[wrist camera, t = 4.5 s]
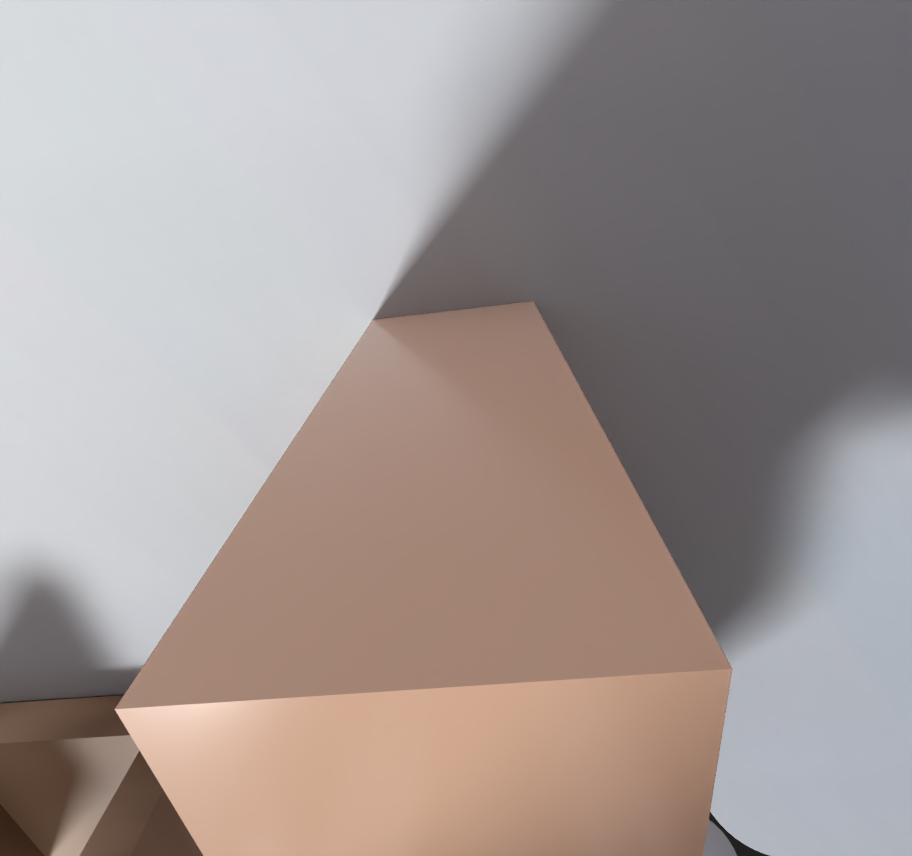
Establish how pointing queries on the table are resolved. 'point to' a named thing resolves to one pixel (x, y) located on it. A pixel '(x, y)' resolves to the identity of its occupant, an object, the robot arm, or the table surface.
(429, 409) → the peach rectangular block
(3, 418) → the table surface
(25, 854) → the drying rack
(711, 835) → the robot arm
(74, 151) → the table surface
